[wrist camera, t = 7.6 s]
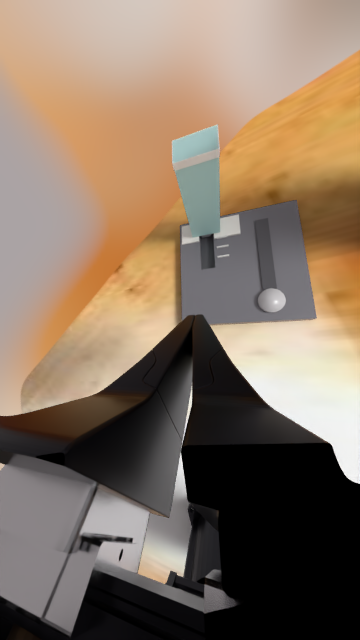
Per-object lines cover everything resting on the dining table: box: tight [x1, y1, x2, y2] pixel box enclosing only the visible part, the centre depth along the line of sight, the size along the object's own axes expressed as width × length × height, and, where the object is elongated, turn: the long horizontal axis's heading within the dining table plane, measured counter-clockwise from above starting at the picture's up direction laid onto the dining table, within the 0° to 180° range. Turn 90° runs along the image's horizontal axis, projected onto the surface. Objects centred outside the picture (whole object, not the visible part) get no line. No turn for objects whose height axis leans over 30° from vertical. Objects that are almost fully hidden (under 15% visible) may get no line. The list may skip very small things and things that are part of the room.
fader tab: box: [172, 125, 220, 238], centre depth 19 cm, size 3×4×11 cm, turn 91°
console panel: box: [180, 200, 317, 325], centre depth 22 cm, size 16×16×1 cm
